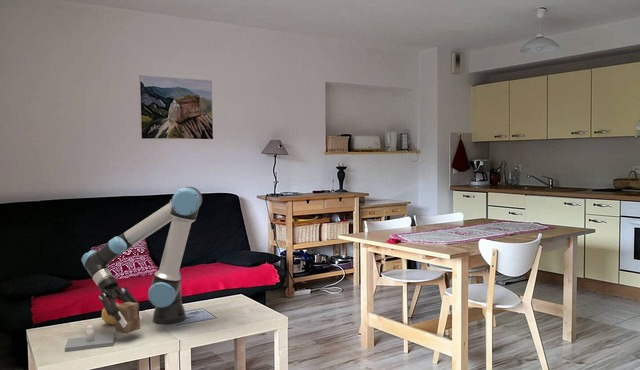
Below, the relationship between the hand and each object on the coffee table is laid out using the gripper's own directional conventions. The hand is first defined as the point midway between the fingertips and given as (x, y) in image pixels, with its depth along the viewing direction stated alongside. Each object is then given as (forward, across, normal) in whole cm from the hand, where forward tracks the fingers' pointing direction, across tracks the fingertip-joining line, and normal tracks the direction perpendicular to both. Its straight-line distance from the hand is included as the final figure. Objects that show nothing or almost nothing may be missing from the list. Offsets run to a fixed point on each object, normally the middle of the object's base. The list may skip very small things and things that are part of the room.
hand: (132, 322), depth 225 cm
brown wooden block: (0, 0, -5) cm, 5 cm away
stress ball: (-14, -11, -24) cm, 30 cm away
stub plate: (-4, +12, -14) cm, 18 cm away
